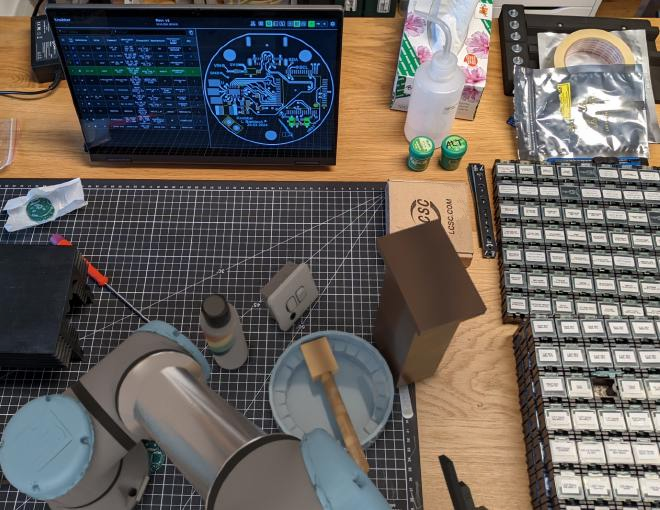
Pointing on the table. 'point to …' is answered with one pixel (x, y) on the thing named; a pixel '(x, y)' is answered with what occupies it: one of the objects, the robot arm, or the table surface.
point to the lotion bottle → (223, 331)
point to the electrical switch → (289, 293)
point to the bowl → (353, 384)
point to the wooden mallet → (333, 393)
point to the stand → (421, 300)
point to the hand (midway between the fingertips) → (389, 480)
